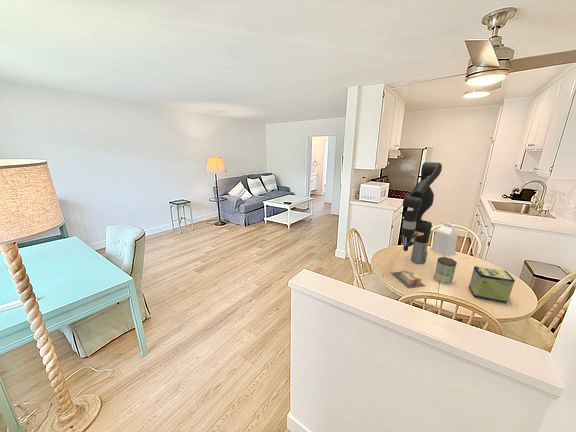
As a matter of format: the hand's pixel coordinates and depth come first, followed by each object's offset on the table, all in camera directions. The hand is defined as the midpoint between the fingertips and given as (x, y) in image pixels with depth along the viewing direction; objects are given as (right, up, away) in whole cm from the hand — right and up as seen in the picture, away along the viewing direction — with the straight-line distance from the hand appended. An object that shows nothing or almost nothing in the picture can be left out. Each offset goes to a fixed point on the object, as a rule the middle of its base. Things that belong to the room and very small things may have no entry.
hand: (405, 250), depth 149 cm
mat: (+1, -19, 0) cm, 19 cm away
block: (+1, -16, +1) cm, 16 cm away
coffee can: (+25, -19, -1) cm, 31 cm away
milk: (+50, -8, +35) cm, 61 cm away
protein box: (+40, -24, -17) cm, 50 cm away
